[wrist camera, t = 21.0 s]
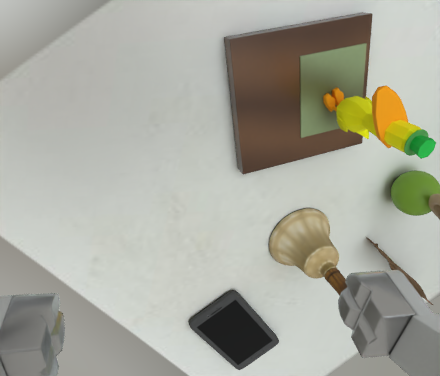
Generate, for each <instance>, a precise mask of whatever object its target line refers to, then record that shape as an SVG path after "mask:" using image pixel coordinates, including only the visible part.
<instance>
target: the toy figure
mask: <svg viewBox="0 0 440 376" xmlns="http://www.w3.org/2000/svg"><path fill="white" fill-rule="evenodd" d="M323 101H324V104H325V106H326V107H327V108H328V110H329V111H330V112H332V111H333V110H335V111H337V112H336V114H337V123H338V125H339V127H340V129H342V130H343V131H345V132H348V130H350V131H352V132H356V133H358V134H360V135H362V136H364V137H365V138H367V139H369V131H370V132H371V133H372V134H374V135H375V136H377V138H378V139H379V140H380V141H381V142H382V143H383V144H384V145H385V146H386V147H387V148H390V147H391V146H393V147H395V148H397V149H398V150H400V151H402V152H404V153H406V154H407V155H410V156H411V155H415V154H416V155H418V156H419V157H420V158H425V157H428V156H429V155H430V153H431V152H432V151H433V150H434V147H435V144H436V142H435V141H434V140H433V139H431V138H428V133H427V131H425V130H423V129H421V128H420V127H418V126H415V125H413V124H410V123H408V119H407V115H406V111H405V109H404V106H403V104H402V101H401V99H400V98H399V96H398V95H397V94H396V92H394V91H393V90H392V89H390V88H389V87H388V86H382V87H378V88H377V90H376V92H375V93H374V95H373V96H372V101H371V100H370V99H369V98H367V97H366V99H364V98H361V97H359V96H354V97H350V98H346V99H344V94H343V92H341V91H340V90H339V88H337V87H336V88H335V89H333V90H332V96H331V95H330V94H329V93H326V94H325V95H324V96H323ZM335 103H336V105H337V107H335Z"/></svg>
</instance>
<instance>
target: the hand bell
mask: <svg viewBox="0 0 440 376" xmlns="http://www.w3.org/2000/svg"><path fill="white" fill-rule="evenodd" d="M329 234H330V225H329V221H328V219H327V217H326V216H325V215H324V214H323V213H322V212H321V211H319V210H316V209H311V208H306V209H301V210H298V211H295V212H293V213H291V214H289V215H288V216H286V217H285V218H284V219H282V220H281V222H280V223H279V224H278V225H277V226H276V228H275V229H274V231H273V232H272V235H271V238H270V241H269V250H270V253H271V255H272V257H273V258H274V259H275V260H276V261H277V262H279V263H281V264H284V265H289V266H294V265H295V266H297V267H298V268H300V269H301V270H302V271H303V272H304V273H305V274H306V275H307V276H309V277H311V278H321V277H325V279H326V281H327V282H329V283H330V285H331V286H332V287H333V288H334V289H335V290H336V291H337V293H338V294H339V296H340V294H341V292H342V291H343V290H344V289H346V288H347V287H348V286H347V285H346V283H345V281H346V279H345V278H344V277H343V275H342V274H341V273H340V271H339V270H338V269H337V268H336V265H337V264H338V261H339V254H338V251H337V249H336V248H335V247H334V245H333V244H332V242H331V241H330V239H329Z"/></svg>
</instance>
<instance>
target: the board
mask: <svg viewBox="0 0 440 376" xmlns="http://www.w3.org/2000/svg"><path fill="white" fill-rule="evenodd" d="M371 25H372V14H371V13H358V14H352V15H347V16H341V17H335V18H330V19H324V20H319V21H313V22H307V23H302V24H296V25H290V26H285V27H279V28H274V29H268V30H262V31H257V32H251V33H245V34H240V35H234V36H228V37H224V40H225V50H226V59H227V69H228V78H229V88H230V97H231V106H232V116H233V125H234V135H235V144H236V154H237V163H238V169H239V170H240V171H241V173H242V174H247V173H250V172H254V171H258V170H262V169H266V168H269V167H273V166H277V165H281V164H285V163H288V162H292V161H296V160H300V159H304V158H307V157H311V156H315V155H319V154H323V153H326V152H330V151H334V150H338V149H342V148H345V147H349V146H353V145H357V144H361V143H362V137H363V136H362V135H360V134H358V133H356V132H352V131H350V130H348V132H345V131H343V130H342V129H340V127H339V125H338V123H337V114H336V112H337V111H335V110H333V111H332V112H330V111H329V110H328V108H327V107H326V106H325V104H324V101H323V96H324V95H325V94H326V93H329V94H330V95H331V96H332V90H333V89H335V88H336V87H337V88H339V90H340V91H341V92H343V94H344V99H346V98H350V97H354V96H359V97H361V98H364V99H366V87H367V75H368V62H369V50H370V37H371ZM335 107H337V105H336V103H335Z"/></svg>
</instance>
